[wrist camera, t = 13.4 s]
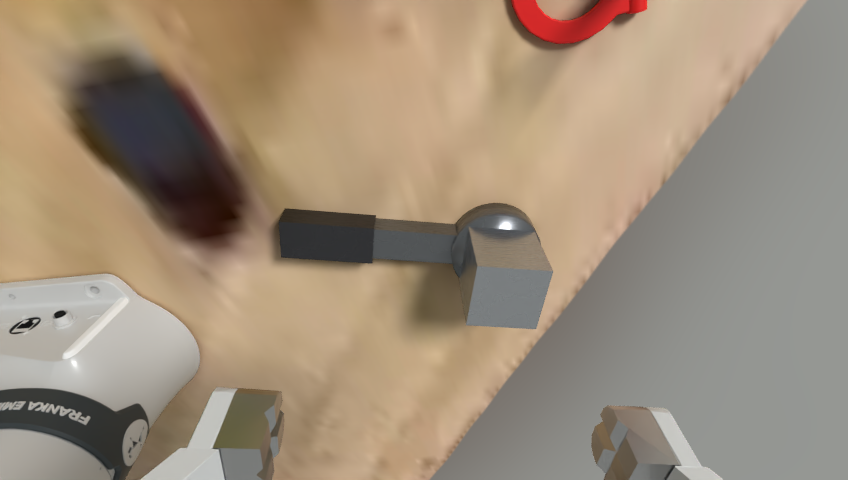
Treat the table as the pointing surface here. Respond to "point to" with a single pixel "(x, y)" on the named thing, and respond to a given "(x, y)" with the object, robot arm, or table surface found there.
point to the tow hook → (577, 29)
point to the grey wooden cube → (503, 278)
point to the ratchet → (388, 235)
